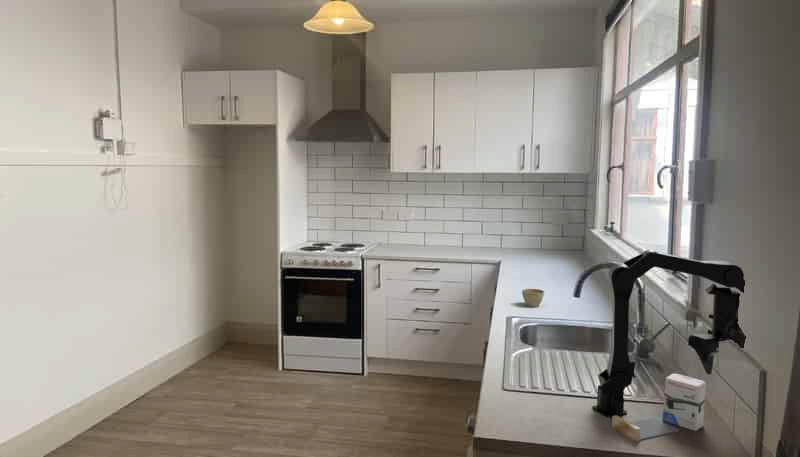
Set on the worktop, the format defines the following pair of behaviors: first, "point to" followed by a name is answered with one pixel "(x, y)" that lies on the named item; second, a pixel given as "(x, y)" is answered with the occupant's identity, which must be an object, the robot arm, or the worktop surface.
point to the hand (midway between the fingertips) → (721, 371)
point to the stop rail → (626, 428)
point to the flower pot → (532, 297)
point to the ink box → (684, 401)
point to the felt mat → (653, 428)
